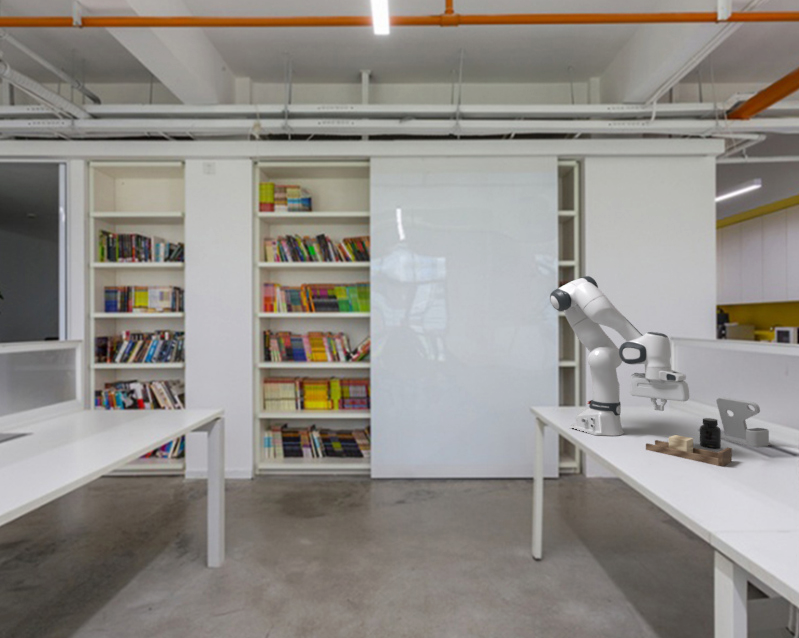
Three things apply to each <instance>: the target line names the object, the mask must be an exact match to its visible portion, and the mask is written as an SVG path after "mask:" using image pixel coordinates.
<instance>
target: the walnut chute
mask: <svg viewBox="0 0 799 638" xmlns="http://www.w3.org/2000/svg"><path fill="white" fill-rule="evenodd" d="M645 451H650V452H655V453H660V454H664V455H668V456H673V457H677V458H680V459H681V458H682V459H687V460H691V461H694V462H700V463H703V464H704V463H705V464H709V465H713V466H717V467H725V466H727V465H729V464H730V463H732V461H733V460H732V458H733V457H732V452H733V451H732V447H725V448H723V449H722V450H721V449H720V450H719V451H718V452H717V451H712V450H707V449H703V448H697V447H693V453H691V452H686V451H681V450H676V449H672V448H669V441H664V440H658V439H654V444H652V443H645Z"/></svg>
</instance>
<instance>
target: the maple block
mask: <svg viewBox="0 0 799 638" xmlns="http://www.w3.org/2000/svg"><path fill="white" fill-rule="evenodd" d="M668 442H669V448H672V449H676V450H681V451H686V452H691V453H693V448H694V438H693V437H689V436H684V435H677V434H675V435H672V436H668Z"/></svg>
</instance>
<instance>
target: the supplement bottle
mask: <svg viewBox="0 0 799 638" xmlns="http://www.w3.org/2000/svg"><path fill="white" fill-rule="evenodd" d="M718 425H719V424H718V419H715V418H710V417H709V418H707V417H705V418H702V425H700V427H699V446H700V447H702V448H704V449H705V448H706V449H709V450H710V449H711V450H721V449H722V444H721V443H722V441H721V440H722V439H721V435H722V432H721V428H720V427H719V426H718Z"/></svg>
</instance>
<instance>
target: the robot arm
mask: <svg viewBox="0 0 799 638" xmlns="http://www.w3.org/2000/svg"><path fill="white" fill-rule="evenodd" d="M549 300H550V303H551V306H552V307H553V308H554V309H555V310H557V311H559V312H563V313H564V316H565V319H566V320H567V322H568V324H569V326H570V328H571V329H572V331H573V333H574V334H575V335H576V337H577V339H578V340H579V342H580V343H581V344H582V345H583V346H584V347H585V348H586V349H587V350H588V351H589V354H588V356H587V363H588V365H589V370H590V376H591V381H592V399H591V400H589V401H587V405H589V406H588V407H587V408H586V409H584V410H583V411H581V412H580V413H578V414H577V415H576V418H575V423H572V424H571V425H570V427H571V428H570V429H572V428H574V429H573V430H575V429H577V430H576V431H579V430H580V432H582V431H584V432H583V433H586V432H587V434H590V435H594V436H609V437H610V436H612V437H613V436H621V435H624V431H623V425H622V422H621V410H622V409H621V401H620V382H619V380H618V379H619V378H618V374H617V373H618V372H617V368H619V367H620V366H621V365H622V364H623V363H624V364H626V365H627V364H628V365H632V366H634V365H644V372H643V373H640V372H634V373H632V374H631V376H630V392H629V393H630V395H631V396H632V397H639V398H646V399H648V398H649V399H650V402H651V404H652V405H653V410H654V411H660V412H663V411H664V410H665V405H666V404H667V403H668V401H676V402H687V401H688V400H689V399H690V390H689V386H688V385H689V384H688V383H687V381H686V378H687V376H686V374H684V373H682V372H678V371H676V370H673V369H672V364H671V360H670V359H671V357H672V351H671V343H670V339H669V336H668V335H667V334H664V333H663V332H658V331H657V332H654V331H648V332H646V333H645V334H642V333H641V332H640V331H639V330H638V329H637V328H636V327H635V326H634V324H632V323H631V322H630V321H629V320H628V318H626V317H625V316H624V315H623V314H622V313H621V312H620V311H619V310H618V309H617V307H616V306H615V305H614V304H613V303H612V302H611V300H610V299H609V298H608V297H607V296H606V295H605V294H604V293H603V292H602V290H601V289H599V286H598V284H597V281H596V280H595V279H594V278H593V276H592V277H591V276H590V275H587V276H586V275H585V276H581V277H580V278H577V279H574V280H572V281H568V283H565V284H564V285H562V286H560V287H559V288H555V289H554V290H552V291H551V293H550V295H549ZM602 326H605V327H608V328H611V329H612V330H614V331H616V332H617V333H618V334H619V335H620V336H621V338H622V339H623V340H625V342H623V343H621V345H620V346H619V348H618V346H617V345H616V343H615V342H614V341H613V340H612V339H611V338H610V337H609V336H608V335H607V334H606V332H605V331H604V330H603V328H602ZM658 399H659V400H660V403H661V404H660V405H659V404H658V402H657V401H658Z"/></svg>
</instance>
